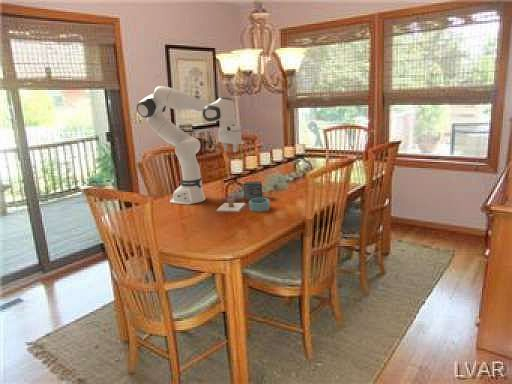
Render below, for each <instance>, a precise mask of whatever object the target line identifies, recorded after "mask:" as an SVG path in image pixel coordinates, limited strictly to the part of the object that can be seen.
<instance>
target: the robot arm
mask: <svg viewBox="0 0 512 384" xmlns="http://www.w3.org/2000/svg"><path fill="white" fill-rule="evenodd" d="M166 108H170V109H172V110H177V111H185V110H196V111H200V112H202V117H203V118H204V120H205V121H206V122H209V123H213V122H217V121H219V125H220V126H219V128H218V133H217V137H218V142H219V143H221V144H222V146H223V149H224V151H229V147H228V144H230V145H232V146H233V148H232V152H234V153H237V152H238V145H241V144H242V137H243V136H242V132H241V130H242V126H241V125H240V124H238V123H237V120H236V117H235V115H236V109H235V103H234V100H233V99H232V98H230V97H225V96H221V97H219V98H218V99H216V100H215V101H213V102H209V101H205V100H202V99H199V98H196V97H195V96H191V95H189V94H188V93H185V92H183V91H181V90H178V89H177V88H172V87H169V86H165V85H158V86H156V87H155V89H154V91H153V93H151V94H149V95H146V97H144V98H143V99H141V100H140V101H138V103H137V105H136V111H137V113H138V115H139V116H141V117H143V118H146V123H147V126H148V127H150V129H151V130H152V131H153V132H154V133H156V135H157V136H159V137H160V138H161V139H163V140H164V141H165V142H167V144H170V145H172V146H174V147H175V148H174V153H175V154H174V155H176V157H177V159H178V162H179V164H180V167H181V168H180V169H181V174H182V175H181V176H182V179H181V180H179V184H180V185H179V186H178V187H177V188H176V189H175V190H174V191H173V194H172V197H171V199H169V200H170V201H169V203H170V204H178V205H179V204H180V205H193V204H197V203H202V202H204V201H206V196H205V193H204V190H203V181H202V175H201V169H200V164H199V163H198V159H197V157H196V156H197V155H196V154H198V153H199V151H200V149H201V142H200V140H199V139H197V138H196V137H194V136H192V135H190V134H189V133H186V132H185V131H184V130H182V129H181V128H179V127H178V126H177V125H175V124H174V123H173V122H172V121H171V120H169V119H168V118H167V117H166V116H165V115H164V112H166Z"/></svg>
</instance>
